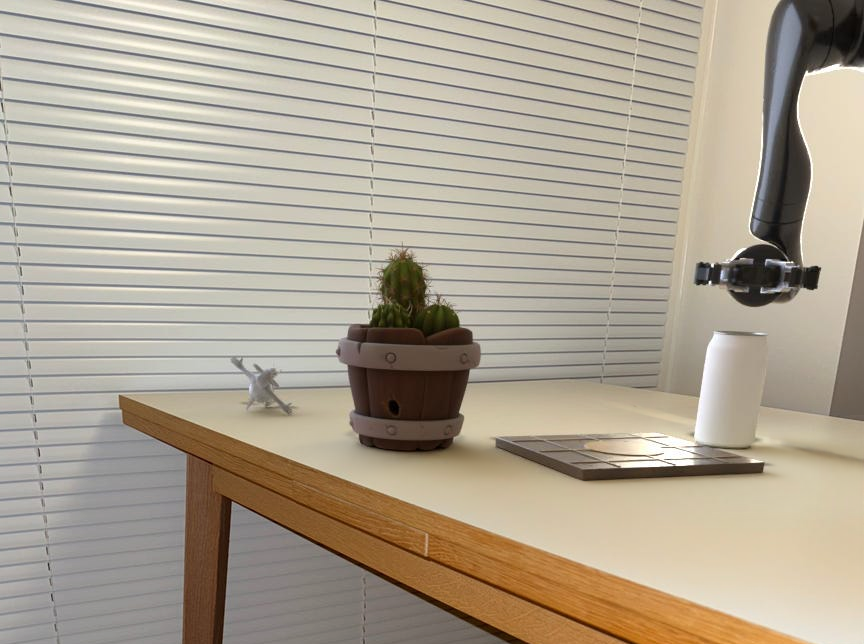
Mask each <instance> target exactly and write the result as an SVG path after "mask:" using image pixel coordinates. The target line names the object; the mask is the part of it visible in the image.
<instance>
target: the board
mask: <svg viewBox="0 0 864 644" xmlns="http://www.w3.org/2000/svg"><path fill="white" fill-rule="evenodd" d="M494 445H495V447H497V448H499V449H502V450H505V451H507V452H509V453H511V454H515V455H517V456H520V457H523V458H525V459H526V460H527V459H528V460H531V461H533V462H535V463H538V464H541V465H542V466H545V467H548V468H551V469H552V470H555V471H559V472H561V473H562V474H565V475H568V476H571V477H574V478H575V479H579V480H581V481H597V480H598V481H599V480H618V479H619V480H621V479H643V478H644V479H645V478H664V477H665V478H666V477H689V476H711V475H713V476H714V475H729V474H730V475H734V474H757V473H759V474H761V473H764V469H765V461H761V460H758V459H754V458H750V457H746V456H743V455H739V454H735V453H733V452H732V453H731V452H729V451H725V450H721V449H719V448H718V449H717V448H715V447H710V446H705V445H701V444H698V443H696V442H692V441H689V440H684V439H680V438H678V437H677V438H676V437H673V436H670V435H666V434H662V433H658V432H625V433H624V432H623V433H590V434H589V433H588V434H582V433H581V434H553V435H552V434H551V435H550V434H548V435H512V436H511V435H509V436H506V435H505V436H496V437H495V443H494Z"/></svg>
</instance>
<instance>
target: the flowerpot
mask: <svg viewBox="0 0 864 644" xmlns="http://www.w3.org/2000/svg"><path fill="white" fill-rule="evenodd" d="M411 247H412V245H410V246H409V247H406V248H405V249H404V244H403V242H401V249H398V248H395V249H392V250H391V249H390V248H389V251H390V252H388V254H389V255H388V257H387V258H386V259H384V262H385V261H388V264H387V266H384V267H380V268H378V267H376V268H375V267H374V270H376V269H377V270H379V271H378V272H377V274H378V276H375V277H376V279H377V280H376V282H375V283H374V285H375V286H377V284H376V283H379V282H380V283H379V284H378V286H377V287H376V288H372V290H376V291H377V293H376V296H375V300H374V301H373V303H372V305H371V306H372V307H371V308H372V313H371V319H370V320H369V323H354V324H351V325H349V326H348V329H347V336H346V337H342V338H340V339H339V340H338V344H337V348H336V349H335V354H336V356H337V359H338V362H339V363H341V364H343V365H347V377H348V382H349V387H350V391H351V396H352V397H351V398H352V400H353V407H354V409H351V411H350V412H349V414H348V416H349V422H348V423H349V426H350V427H351V429H352V431H353V432H355V433H356V434H358V441H359V443H360V444H363V445H365V446H367V447H370V446H371V447H377V448H379V449H383V450H384V449H385V450H393V451H416V450H417V449H419V450H422V451H429V450H434V449H435V448H437V447H438V446H439V447H441V448H448V447H450V446H451V445H453V443H454V438H455V437H457V436H459V435H460V434H461V431H462V428H463V426H464V421H465V415H464V414H463V413H461V412H460V411H461V408H462V405H463V404H462V403H463V402H464V401H463V400H464V397H465V394H466V390H467V386H468V383H469V377H470V374H471V373H470V371H471V370H473V369H476V368H478V367H479V366H480V364H481V358H482V349H481V344H480V342H477V341H476V342H475V341H474V333H473V330H470V328H468V327H467V328H466V327H462V326H461V325H460V323H461V322H460V318H459V315H458V313H461V310H460V311H456V312H455V311H454V308H453V307H456V306H457V307H458V304H453V303H451V302H450V301H449V302H447V301H446V298H442V294H440V295H439V294H438V292H437V291H433V293H434V294H435V295H436V299H434V298H431V296H430V294H432V292H431V290H430V288H431V287H432V288H433V285H430V284H431V283H432V281H433V277H432V276H429V275H430V273H429V270H428V269H427V268H425V267H429V266H430V264H426V265H423V264H424V262H423V261H421V265H420V264H418V260H416V258H417V257H418V256H417V255H415V253H414V251H413V250H411V253H410V254H409V252H408V250H409V249H411ZM392 251H393V252H396V253H395V254H394V255H393V253H392ZM381 264H384V263H383V262H382V263H381ZM424 271H425V272H424ZM380 273H381V274H380ZM429 278H430V279H431V281H430V280H428V279H429ZM378 296H379V297H378ZM430 298H431V299H430ZM378 300H381V301H380V302H379V301H378ZM432 300H433V301H432ZM375 302H377V303H376V305H377V307H374V304H375Z"/></svg>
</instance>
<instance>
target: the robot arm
mask: <svg viewBox="0 0 864 644" xmlns="http://www.w3.org/2000/svg"><path fill="white" fill-rule="evenodd" d="M770 17H771V18H770V20H769V25H768V30H767V36H766V43H765V53H764V74H763V91H762V92H763V95H762V120H761V121H762V123H761V125H762V126H761V148H760V159H759V166H758V174H757V179H756V185H755V189H754V195H753V201H752V206H751V210H750V216H749V222H748V228H749V229H748V230H749V233H750V235H752V236H753V238H755V239H757V240H759V241H760V242H761V241H762V242H765V243H760V244H759V243H758V244H754V245H751V246H748V247H746V248H741V249H739V250H738V251H736V253H735V254H734V255H733V256H732V258H731V259H724V260H723V261H722V263H719V262H716V261H715V262H713V263H710V262H704V261H699V262H696V263H695V269H694V276H693V285H696V286H707V285H709V286H710V287H716V286H718V288H719V290H725V291H726V292H727V294H728V296H729V297H730V298H731V299H733V300H735V301H736V302H737V303H738V304H740V305H742V306H745V307H748V308H761V307H765V306H767V305H769V304H775V305H776V304H778V305H783V304H787V303H789V302H791V301H792V300H793V299H794V298H796V296H797V295H798V294H799V293H800V291H801V289H806V290H807V291H815V290H818V287H819V280H820V275H821V271H822V266H819V265H811V266H804V259H803V249H802V236H803V235H802V233H803V225H804V221H805V215H806V210H807V207H808V201H809V197H810V193H811V189H812V182H813V175H814V174H813V173H814V172H813V162H812V161H813V160H812V157H811V153H810V150H809V147H808V143H807V142H806V139H805V136H804V133H803V130H802V127H801V123H800V118H799V100H800V94H801V91H802V87H803V83H804V80H805V77H806V76H811V75H816V74H821V73H826V72H831V71H835V70H836V71H837V70H843V69H851V70H856V71H860V72H862V73H864V0H779V1H778V2H777V4H776V6H775V8H774V10H773V12H772V13H771V16H770Z"/></svg>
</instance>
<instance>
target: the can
mask: <svg viewBox="0 0 864 644" xmlns="http://www.w3.org/2000/svg"><path fill="white" fill-rule="evenodd" d="M768 336H769V334H768V333H766V332H756V331H755V332H754V331H737V330H713V336H712V338H711V340H710V341H709V343H708V345H707V348H706V353H705V359H704V365H703V373H702V380H701V387H700V394H699V400H698V405H697V407H698V408H697V414H696V419H695V420H696V421H695V428H694V436H693V440H694V441H695V443H696V444H699V445H703V446H707V447H710V448H716V449H717V448H718V449H731V450H733V449H734V450H735V449H736V450H738V449H740V450H741V449H748V448H751V446H752V445H754V443H755V439H756V434H757V430H758V429H757V428H758V422H759V416H760V411H761V405H762V399H763V393H764V387H765V380H766V374H767V369H768V362H769V357H770V346H769V343H768Z"/></svg>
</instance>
